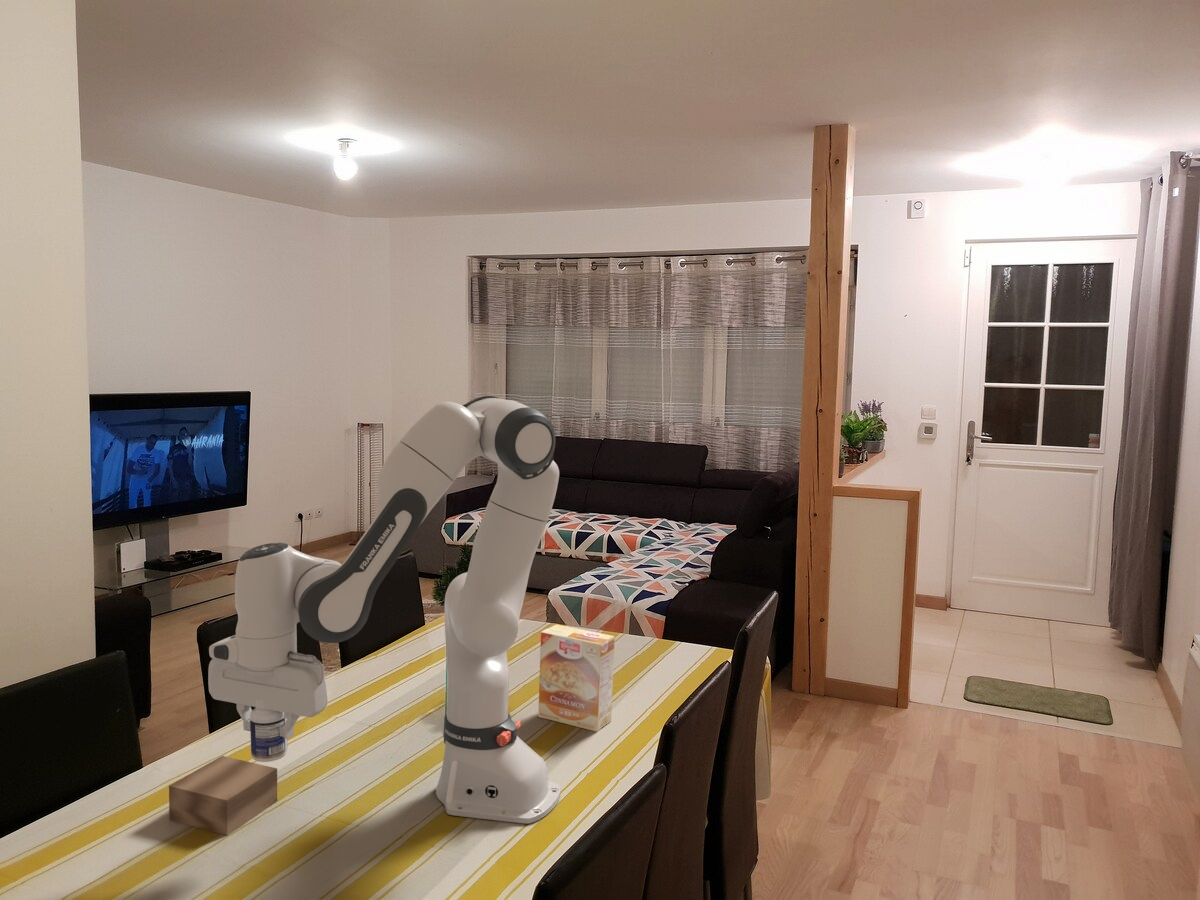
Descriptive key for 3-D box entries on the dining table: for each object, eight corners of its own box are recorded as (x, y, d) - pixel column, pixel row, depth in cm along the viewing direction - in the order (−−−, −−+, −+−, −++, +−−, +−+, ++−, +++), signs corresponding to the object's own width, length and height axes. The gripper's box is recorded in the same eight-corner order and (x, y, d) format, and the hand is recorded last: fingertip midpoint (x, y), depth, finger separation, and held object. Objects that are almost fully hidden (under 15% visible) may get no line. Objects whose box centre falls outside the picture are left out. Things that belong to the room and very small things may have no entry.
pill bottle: (257, 747, 141) (255, 689, 140) (291, 747, 141) (290, 688, 140) (246, 763, 136) (244, 702, 135) (282, 762, 136) (280, 702, 135)
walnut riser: (277, 801, 154) (277, 768, 153) (227, 835, 143) (226, 800, 142) (222, 787, 158) (222, 755, 157) (169, 820, 147) (168, 785, 146)
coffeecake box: (537, 717, 193) (539, 631, 191) (553, 706, 200) (556, 623, 198) (597, 732, 187) (600, 643, 184) (612, 721, 193) (615, 634, 191)
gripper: (335, 650, 136) (336, 736, 138) (229, 633, 143) (231, 715, 144) (309, 664, 130) (310, 753, 132) (200, 645, 137) (202, 730, 138)
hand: (268, 733), depth 138 cm, fingers closed on pill bottle, 5 cm apart
